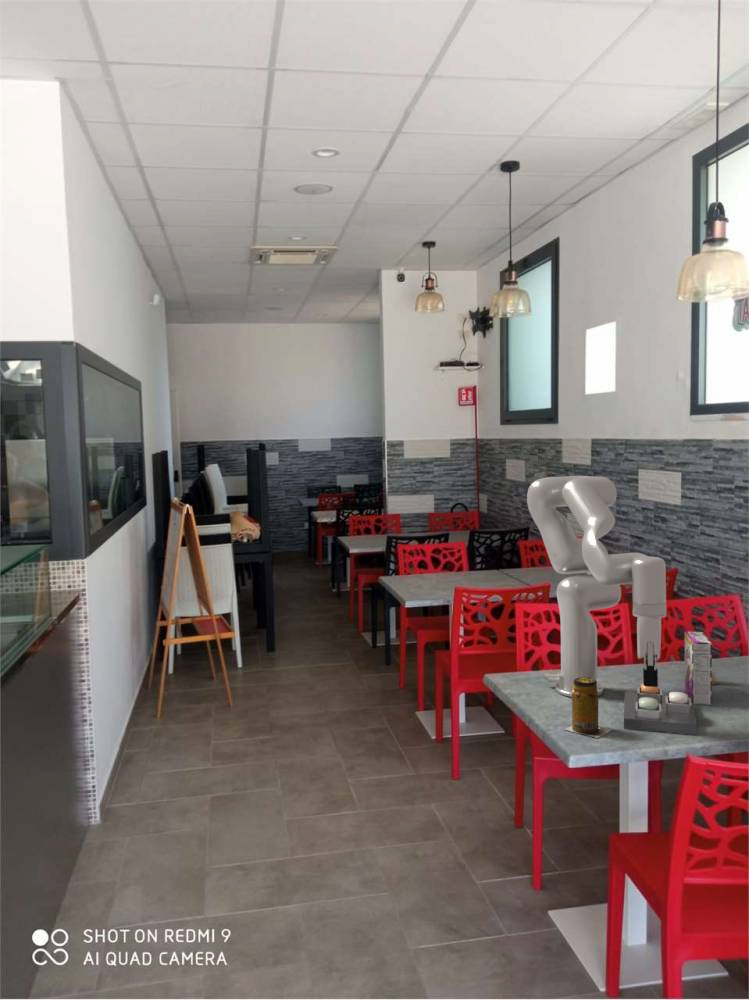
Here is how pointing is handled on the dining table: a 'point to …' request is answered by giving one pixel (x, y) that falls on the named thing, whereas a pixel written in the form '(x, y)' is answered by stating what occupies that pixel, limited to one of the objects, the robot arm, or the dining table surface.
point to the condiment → (585, 708)
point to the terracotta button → (649, 689)
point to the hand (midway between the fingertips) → (650, 685)
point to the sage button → (648, 703)
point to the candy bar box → (698, 668)
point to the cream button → (678, 698)
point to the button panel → (659, 714)
